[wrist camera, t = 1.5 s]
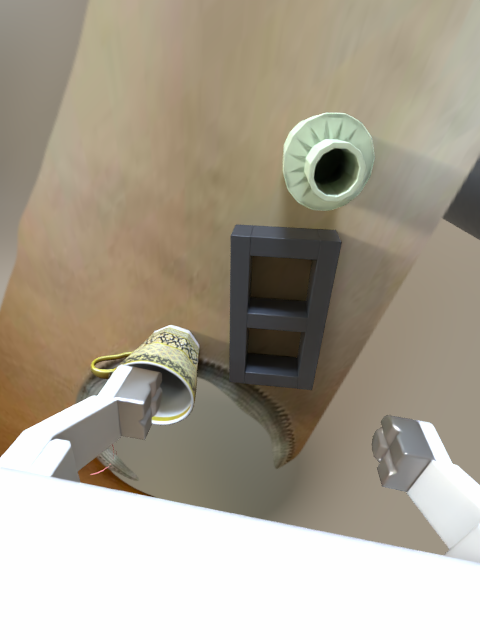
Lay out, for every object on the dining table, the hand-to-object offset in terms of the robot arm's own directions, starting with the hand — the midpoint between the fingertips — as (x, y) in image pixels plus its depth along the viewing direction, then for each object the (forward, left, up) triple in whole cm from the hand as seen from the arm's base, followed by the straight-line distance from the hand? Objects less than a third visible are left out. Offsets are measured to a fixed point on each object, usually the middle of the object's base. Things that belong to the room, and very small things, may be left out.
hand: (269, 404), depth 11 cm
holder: (-1, +11, -26) cm, 28 cm away
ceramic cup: (+14, +18, -27) cm, 35 cm away
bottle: (-3, -6, -26) cm, 27 cm away
